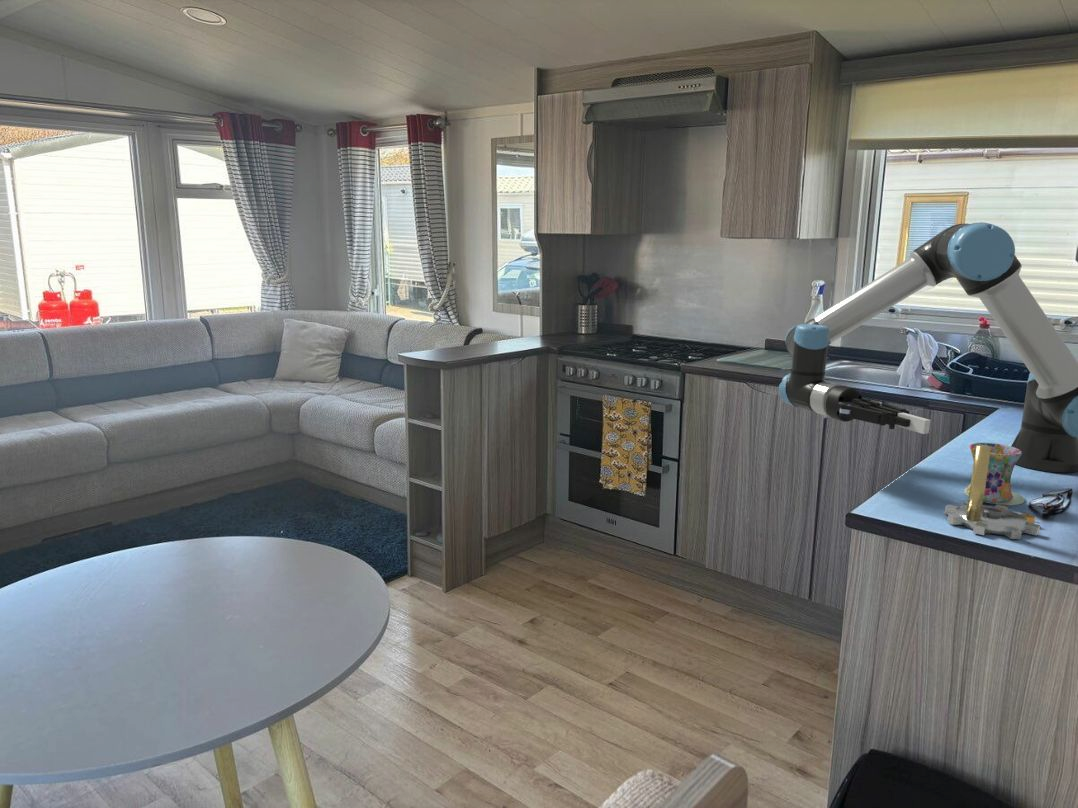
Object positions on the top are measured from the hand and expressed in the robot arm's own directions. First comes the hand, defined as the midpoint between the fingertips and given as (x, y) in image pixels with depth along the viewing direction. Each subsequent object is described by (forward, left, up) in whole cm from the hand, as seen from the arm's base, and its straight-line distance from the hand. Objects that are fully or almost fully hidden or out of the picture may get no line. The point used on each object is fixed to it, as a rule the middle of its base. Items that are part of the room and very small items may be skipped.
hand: (926, 426), depth 155 cm
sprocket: (-6, +12, -17) cm, 21 cm away
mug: (-19, +1, -16) cm, 25 cm away
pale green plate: (-22, +1, -17) cm, 27 cm away
